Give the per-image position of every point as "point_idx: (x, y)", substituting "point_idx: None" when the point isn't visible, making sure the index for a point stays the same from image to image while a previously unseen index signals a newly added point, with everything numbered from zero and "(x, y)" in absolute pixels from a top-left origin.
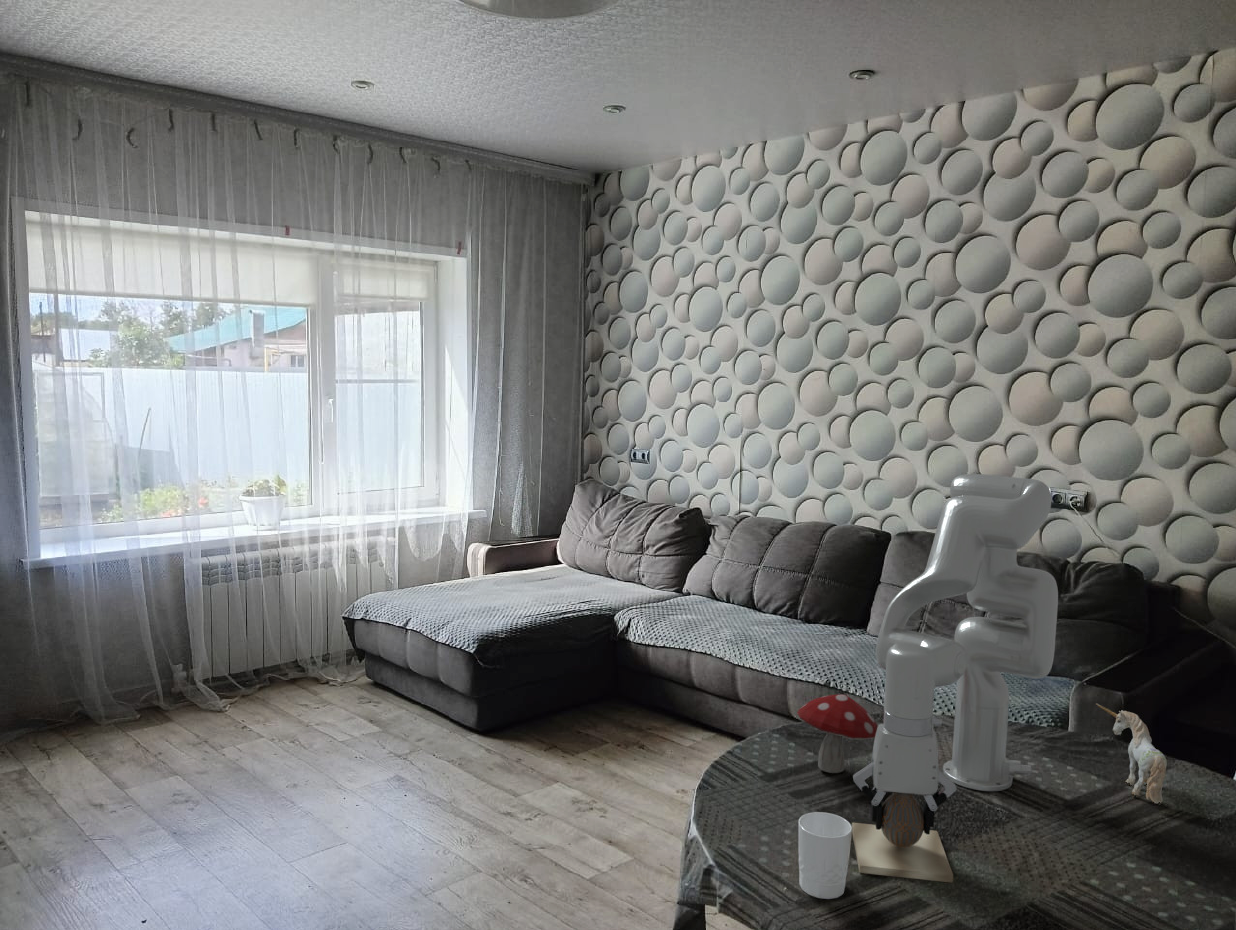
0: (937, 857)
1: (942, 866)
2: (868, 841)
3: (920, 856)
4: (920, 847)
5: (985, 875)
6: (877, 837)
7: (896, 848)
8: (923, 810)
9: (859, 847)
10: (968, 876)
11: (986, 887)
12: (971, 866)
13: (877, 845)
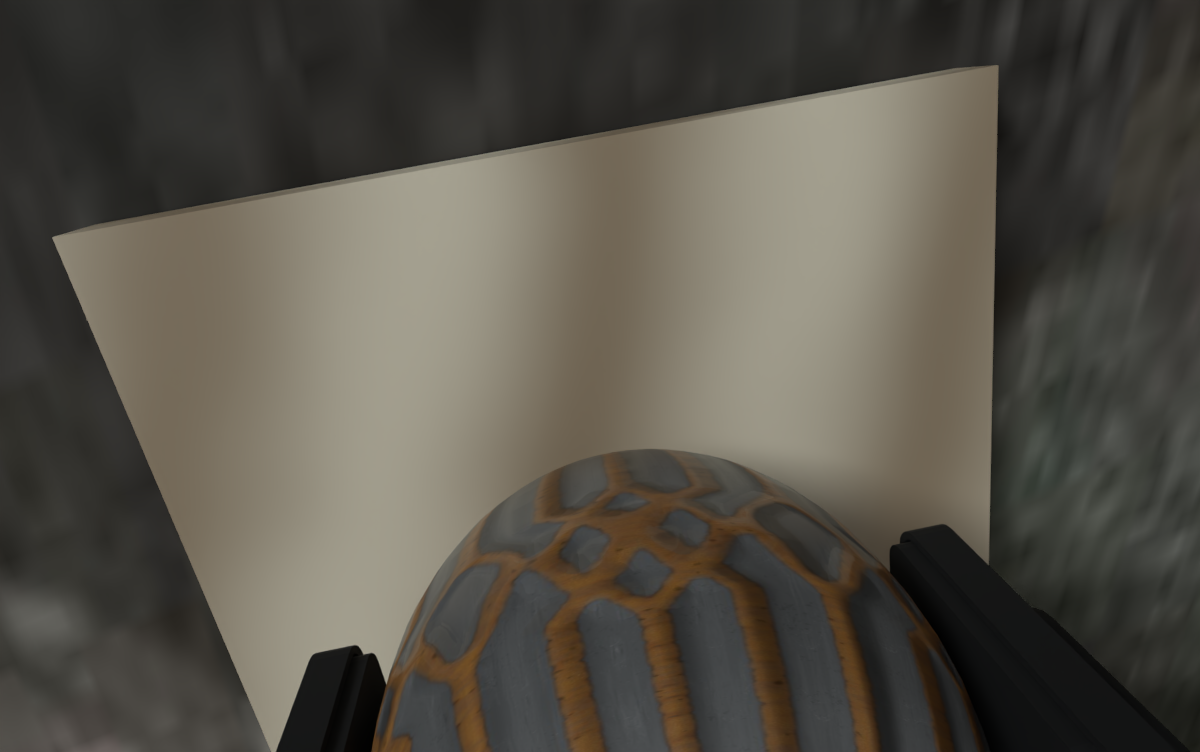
0: None
1: None
2: (326, 563)
3: None
4: (791, 480)
5: (1196, 548)
6: (395, 458)
7: None
8: (1019, 742)
9: (272, 688)
10: (1075, 605)
11: (1153, 681)
12: (1135, 467)
13: (417, 596)
